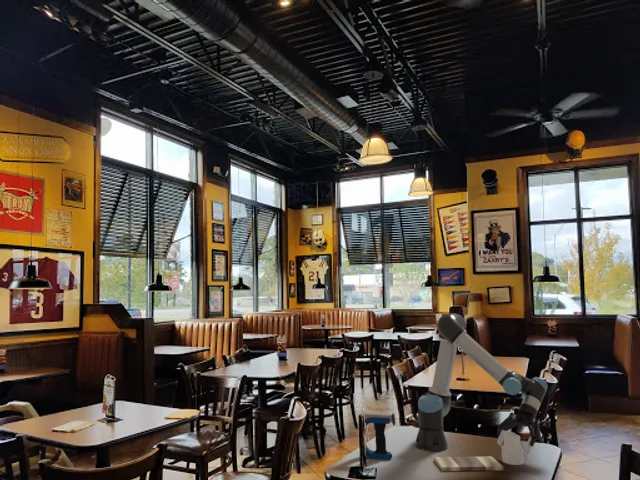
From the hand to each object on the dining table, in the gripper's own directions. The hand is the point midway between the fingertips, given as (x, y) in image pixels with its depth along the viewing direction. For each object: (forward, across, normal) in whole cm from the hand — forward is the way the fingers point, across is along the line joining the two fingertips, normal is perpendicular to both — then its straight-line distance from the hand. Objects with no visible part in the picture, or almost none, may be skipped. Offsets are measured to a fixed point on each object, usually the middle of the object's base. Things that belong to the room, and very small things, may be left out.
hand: (512, 447), depth 220 cm
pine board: (+18, +9, +10) cm, 22 cm away
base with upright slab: (+4, 0, -5) cm, 6 cm away
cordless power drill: (+35, +40, +26) cm, 59 cm away
